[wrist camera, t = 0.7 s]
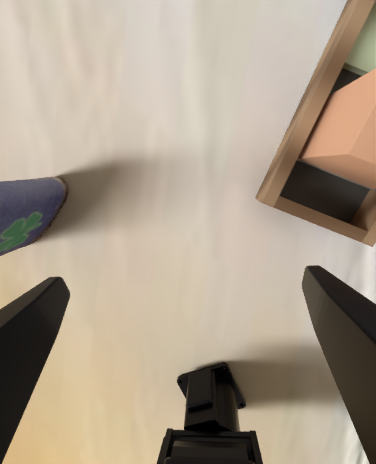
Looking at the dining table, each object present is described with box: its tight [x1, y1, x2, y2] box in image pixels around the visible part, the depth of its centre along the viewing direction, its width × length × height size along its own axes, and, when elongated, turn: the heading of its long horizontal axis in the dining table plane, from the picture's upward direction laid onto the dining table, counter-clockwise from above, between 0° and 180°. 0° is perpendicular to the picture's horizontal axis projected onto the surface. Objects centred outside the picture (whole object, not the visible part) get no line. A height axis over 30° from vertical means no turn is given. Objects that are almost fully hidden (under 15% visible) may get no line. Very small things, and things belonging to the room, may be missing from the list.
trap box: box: [256, 0, 376, 247], centre depth 19 cm, size 20×10×3 cm, turn 159°
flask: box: [0, 177, 68, 256], centre depth 20 cm, size 9×3×11 cm, turn 137°
